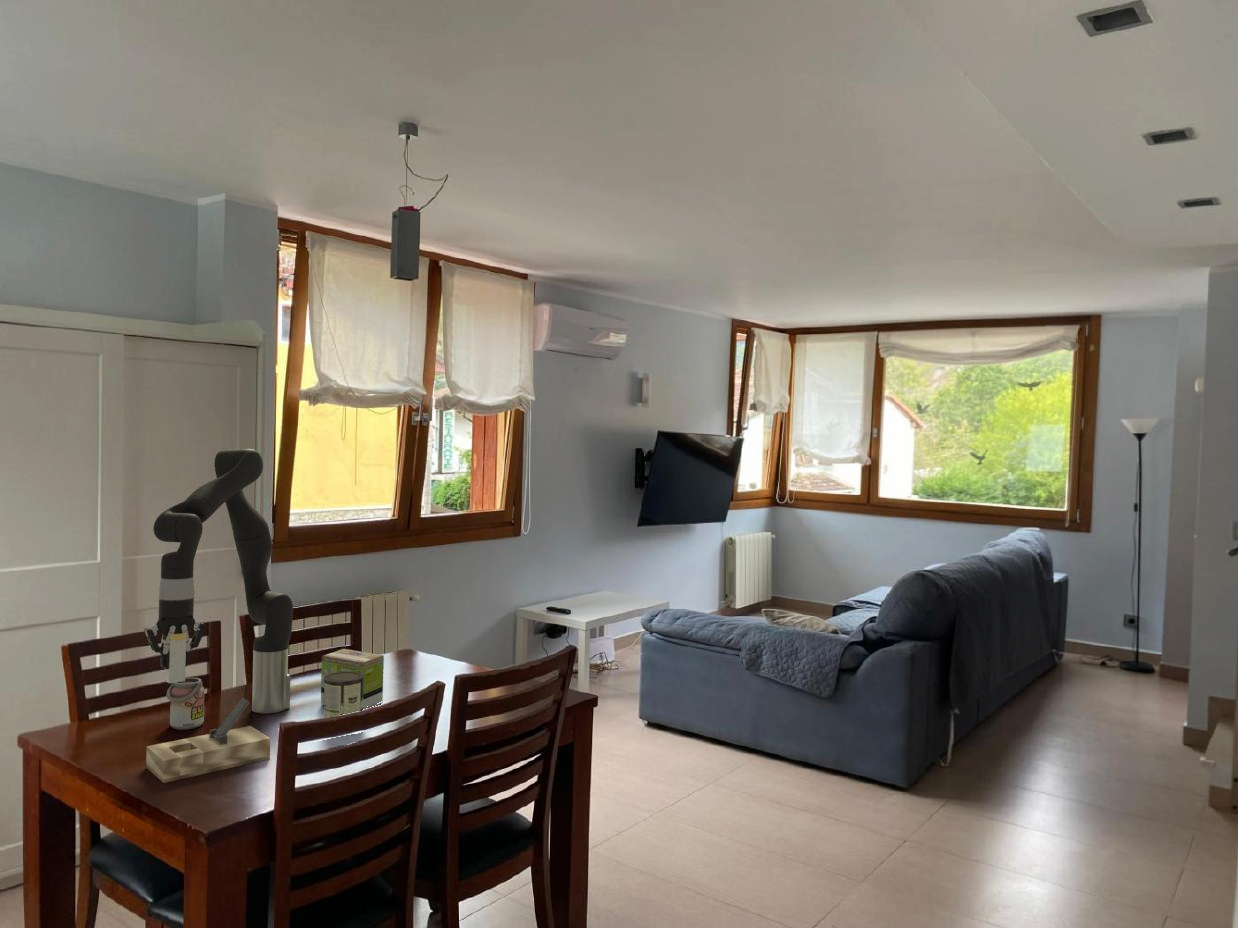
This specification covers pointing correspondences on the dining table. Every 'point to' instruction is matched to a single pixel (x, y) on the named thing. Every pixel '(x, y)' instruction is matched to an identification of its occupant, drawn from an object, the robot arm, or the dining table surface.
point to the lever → (231, 718)
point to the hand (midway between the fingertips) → (174, 667)
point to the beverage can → (186, 704)
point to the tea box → (359, 663)
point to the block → (207, 753)
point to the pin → (176, 659)
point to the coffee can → (343, 693)
